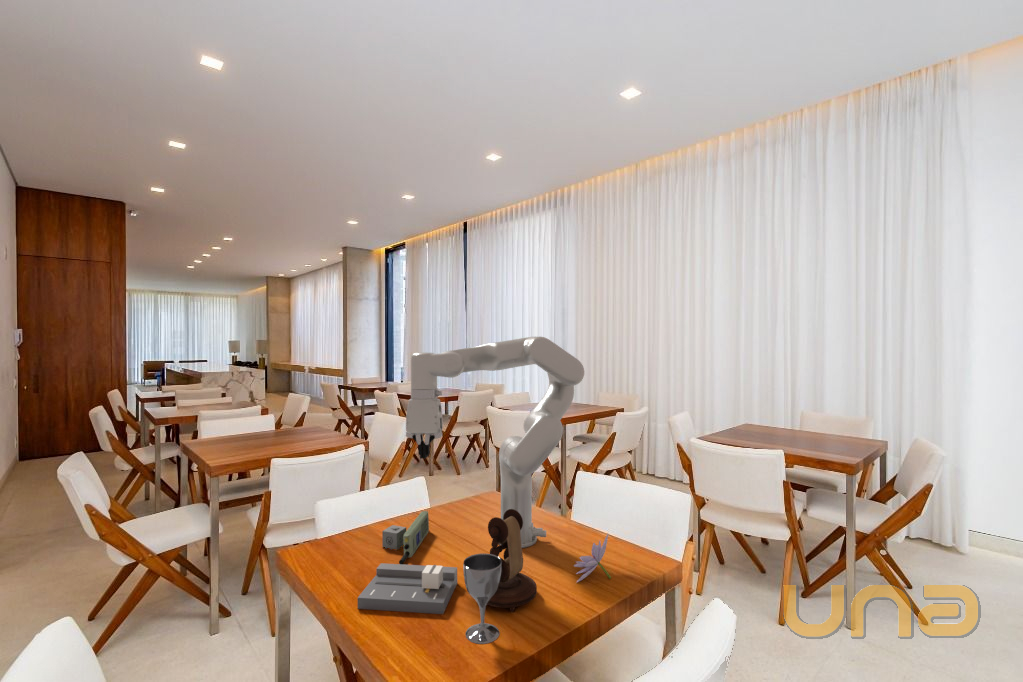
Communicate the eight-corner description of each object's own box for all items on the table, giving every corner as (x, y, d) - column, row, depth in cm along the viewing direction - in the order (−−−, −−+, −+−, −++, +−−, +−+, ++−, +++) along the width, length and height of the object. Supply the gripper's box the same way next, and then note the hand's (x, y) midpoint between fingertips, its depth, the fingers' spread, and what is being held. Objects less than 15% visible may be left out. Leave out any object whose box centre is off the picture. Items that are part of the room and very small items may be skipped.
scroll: (516, 621, 106) (516, 529, 106) (462, 602, 114) (462, 516, 114) (547, 591, 119) (547, 509, 119) (497, 576, 126) (497, 499, 126)
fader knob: (442, 580, 118) (442, 565, 118) (438, 589, 114) (438, 573, 114) (426, 579, 119) (426, 564, 119) (421, 588, 115) (421, 572, 115)
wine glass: (463, 623, 105) (463, 554, 105) (500, 621, 106) (500, 552, 106) (463, 646, 97) (463, 571, 97) (502, 644, 98) (502, 569, 98)
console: (457, 583, 123) (457, 567, 123) (443, 614, 109) (443, 596, 109) (380, 578, 125) (380, 563, 125) (357, 608, 111) (357, 591, 111)
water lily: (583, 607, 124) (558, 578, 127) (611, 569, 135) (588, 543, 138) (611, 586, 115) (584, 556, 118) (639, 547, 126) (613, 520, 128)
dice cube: (396, 550, 142) (396, 533, 142) (382, 547, 144) (382, 531, 144) (406, 543, 147) (406, 527, 147) (392, 541, 149) (392, 525, 149)
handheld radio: (430, 531, 157) (407, 567, 132) (420, 531, 157) (395, 567, 132) (429, 510, 157) (406, 542, 132) (419, 511, 157) (394, 542, 132)
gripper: (452, 393, 145) (452, 455, 145) (403, 393, 147) (403, 453, 147) (445, 396, 138) (445, 461, 138) (394, 395, 139) (394, 460, 139)
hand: (424, 457), depth 142 cm, fingers closed
